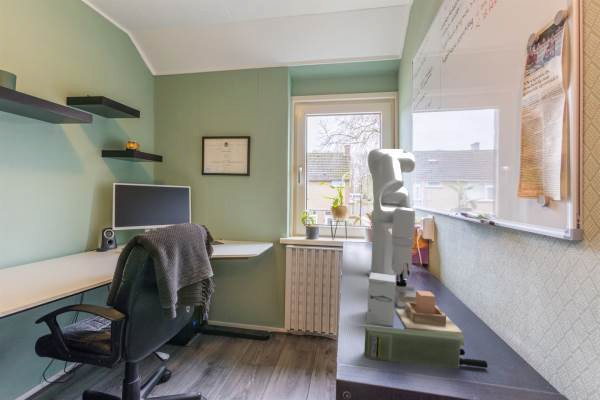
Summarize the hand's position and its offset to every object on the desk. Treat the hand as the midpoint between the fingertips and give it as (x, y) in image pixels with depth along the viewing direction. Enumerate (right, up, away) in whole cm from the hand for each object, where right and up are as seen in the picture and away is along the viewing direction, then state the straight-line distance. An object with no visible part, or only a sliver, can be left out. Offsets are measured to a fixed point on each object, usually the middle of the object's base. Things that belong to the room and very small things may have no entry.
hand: (400, 292), depth 95 cm
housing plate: (-1, -1, -6) cm, 6 cm away
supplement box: (-13, -2, -19) cm, 23 cm away
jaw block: (0, -1, -19) cm, 19 cm away
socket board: (0, -2, -20) cm, 20 cm away
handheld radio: (-10, -2, -38) cm, 40 cm away
